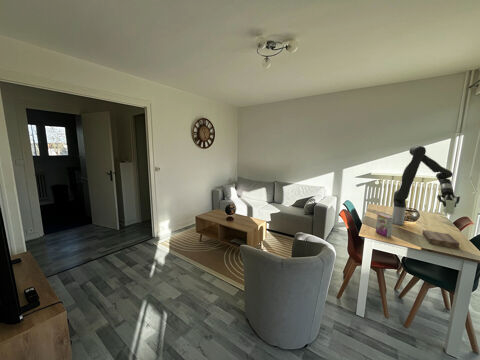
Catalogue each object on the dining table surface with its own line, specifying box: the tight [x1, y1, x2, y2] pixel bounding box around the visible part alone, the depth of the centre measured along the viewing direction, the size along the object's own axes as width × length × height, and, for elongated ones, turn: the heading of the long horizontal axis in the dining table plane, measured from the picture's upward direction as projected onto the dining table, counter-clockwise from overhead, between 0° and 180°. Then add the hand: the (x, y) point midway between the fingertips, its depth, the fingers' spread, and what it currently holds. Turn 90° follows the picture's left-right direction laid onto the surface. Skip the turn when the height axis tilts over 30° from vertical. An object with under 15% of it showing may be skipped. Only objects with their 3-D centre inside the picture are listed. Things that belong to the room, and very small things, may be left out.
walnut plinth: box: [422, 229, 460, 249], centre depth 160 cm, size 16×20×4 cm
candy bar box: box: [375, 213, 394, 238], centre depth 171 cm, size 11×5×16 cm, turn 9°
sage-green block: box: [442, 200, 456, 214], centre depth 169 cm, size 5×5×10 cm
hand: (449, 206), depth 167 cm, fingers closed on sage-green block, 5 cm apart
